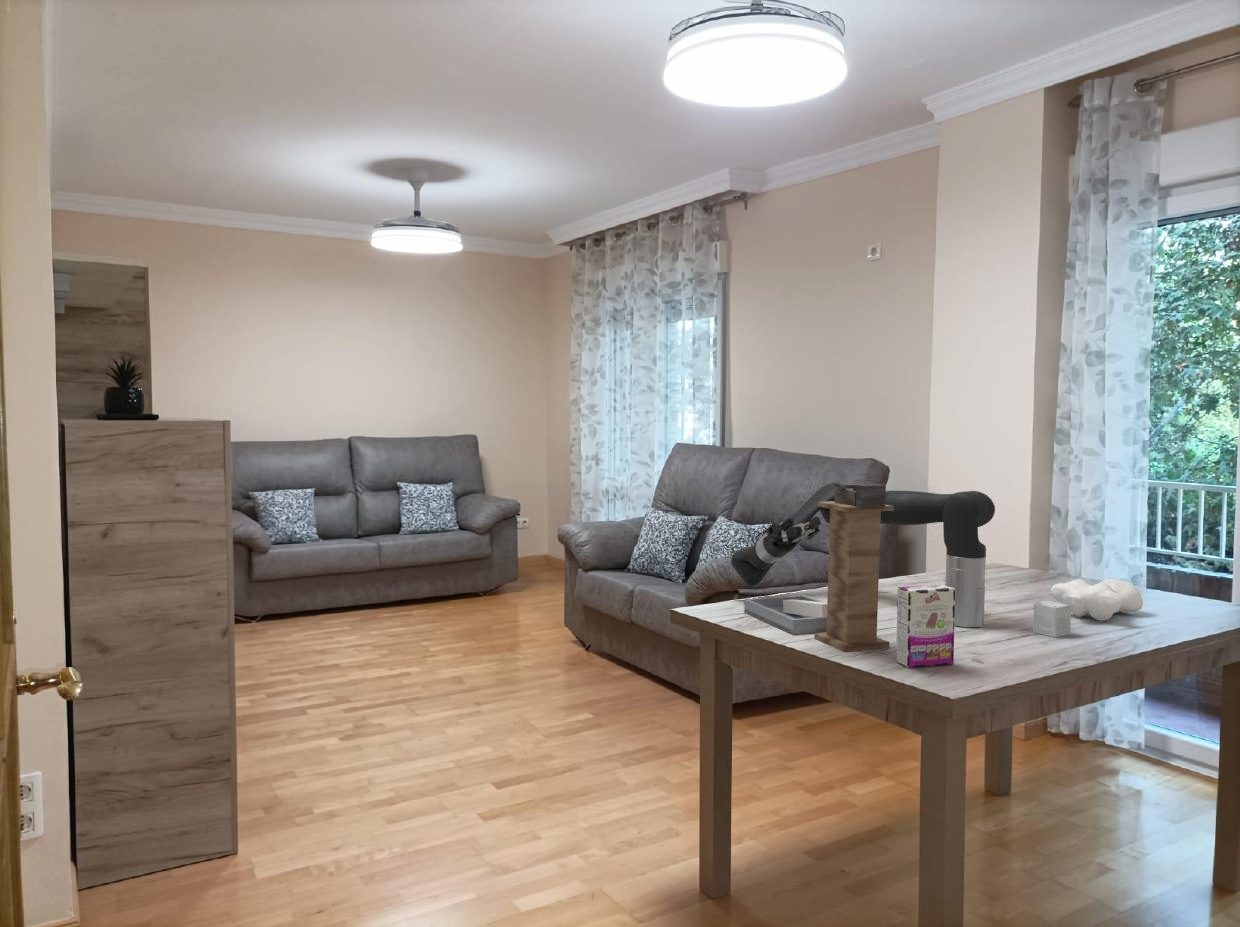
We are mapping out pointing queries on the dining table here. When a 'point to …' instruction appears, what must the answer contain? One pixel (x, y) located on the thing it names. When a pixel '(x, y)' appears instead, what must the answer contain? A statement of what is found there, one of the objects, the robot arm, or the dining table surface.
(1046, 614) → the skincare box
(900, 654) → the candy bar box
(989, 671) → the dining table surface
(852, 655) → the dining table surface
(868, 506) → the socket stand
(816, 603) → the plug
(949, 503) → the robot arm
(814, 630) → the tray
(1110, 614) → the torso sculpture
